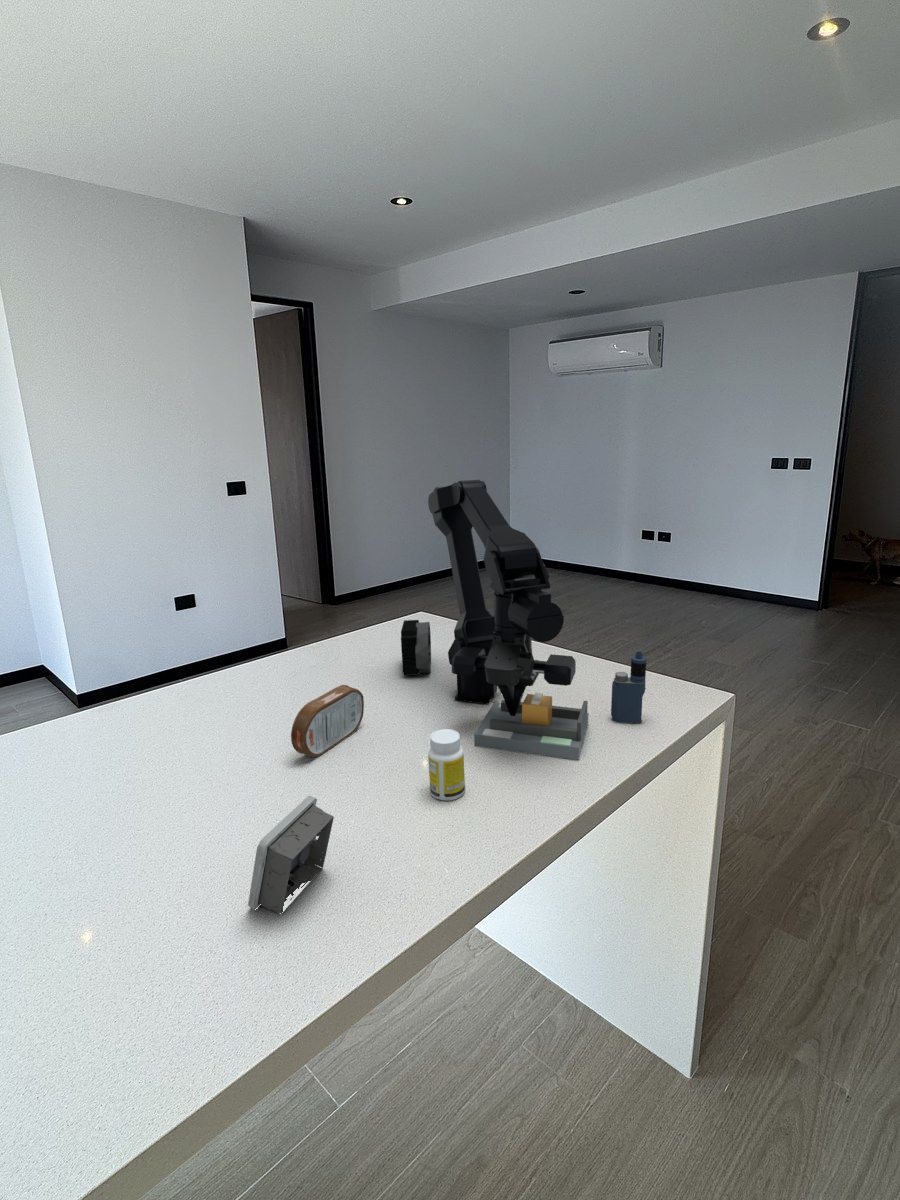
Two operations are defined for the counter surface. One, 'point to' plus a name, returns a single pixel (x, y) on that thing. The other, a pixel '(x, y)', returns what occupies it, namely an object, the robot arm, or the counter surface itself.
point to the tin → (327, 720)
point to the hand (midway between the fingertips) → (513, 715)
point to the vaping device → (629, 692)
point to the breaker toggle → (537, 709)
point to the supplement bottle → (446, 765)
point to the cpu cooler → (416, 647)
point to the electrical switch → (290, 855)
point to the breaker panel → (534, 732)
